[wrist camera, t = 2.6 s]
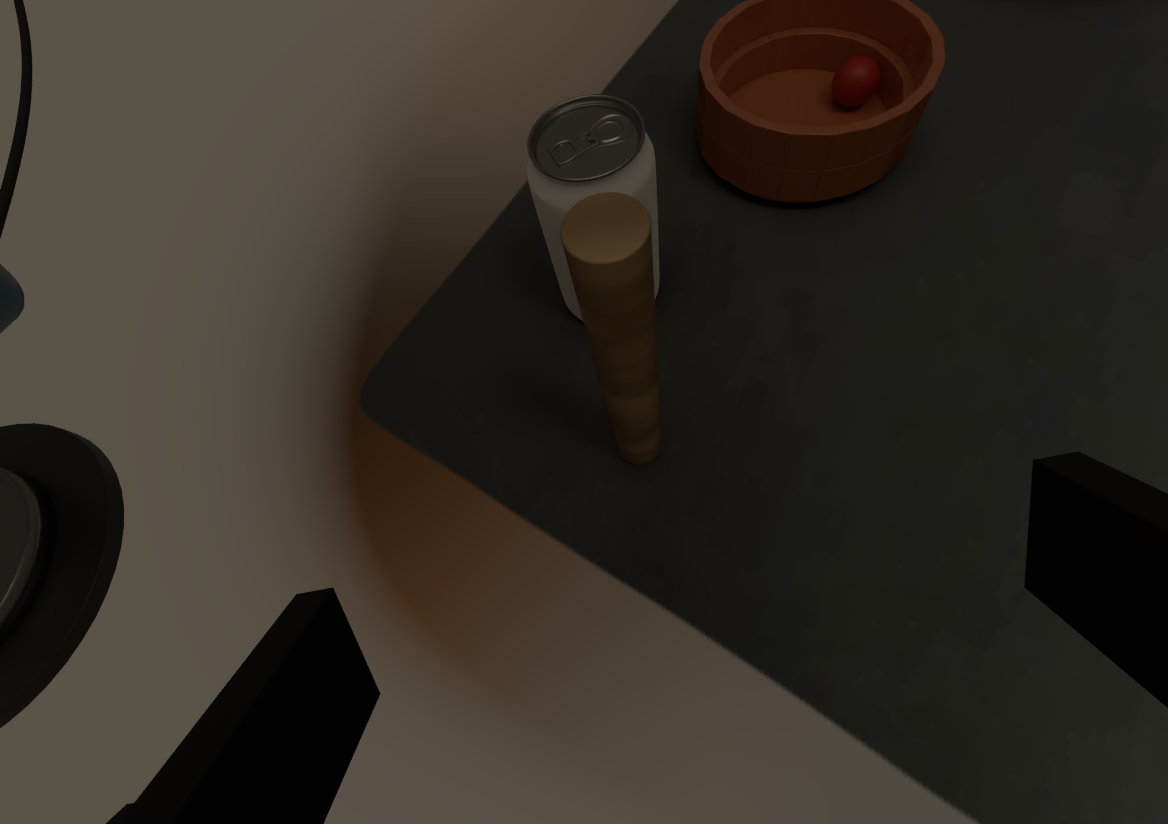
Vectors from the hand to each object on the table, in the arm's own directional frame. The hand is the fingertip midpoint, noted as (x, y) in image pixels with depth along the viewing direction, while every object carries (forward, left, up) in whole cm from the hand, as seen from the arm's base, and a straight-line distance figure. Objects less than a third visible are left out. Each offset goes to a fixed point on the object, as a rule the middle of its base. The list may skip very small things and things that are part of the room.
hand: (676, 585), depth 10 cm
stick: (-10, +3, -19) cm, 21 cm away
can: (-20, +6, -19) cm, 28 cm away
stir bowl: (-26, +24, -19) cm, 40 cm away
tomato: (-26, +28, -17) cm, 41 cm away
